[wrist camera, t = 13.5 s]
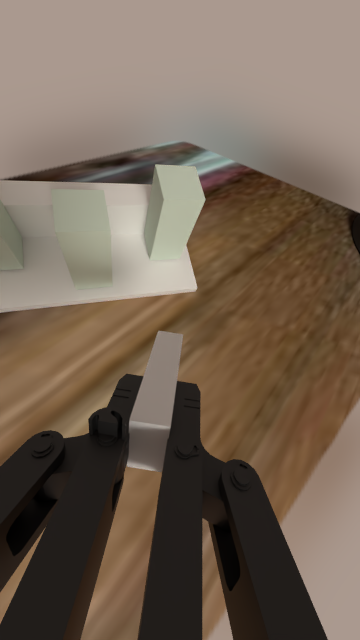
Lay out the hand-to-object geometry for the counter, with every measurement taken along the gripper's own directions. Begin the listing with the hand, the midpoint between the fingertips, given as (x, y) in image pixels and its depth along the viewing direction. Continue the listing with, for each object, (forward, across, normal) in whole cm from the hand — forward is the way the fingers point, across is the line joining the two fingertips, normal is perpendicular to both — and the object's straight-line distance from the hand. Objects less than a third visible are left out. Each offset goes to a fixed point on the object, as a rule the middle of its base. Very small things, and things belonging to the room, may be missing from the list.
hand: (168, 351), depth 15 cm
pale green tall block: (+20, -4, +2) cm, 20 cm away
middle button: (+14, -11, -1) cm, 18 cm away
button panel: (+17, -12, 0) cm, 21 cm away
